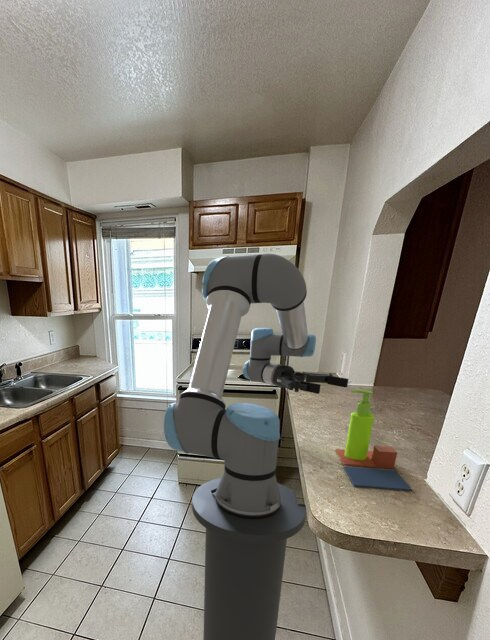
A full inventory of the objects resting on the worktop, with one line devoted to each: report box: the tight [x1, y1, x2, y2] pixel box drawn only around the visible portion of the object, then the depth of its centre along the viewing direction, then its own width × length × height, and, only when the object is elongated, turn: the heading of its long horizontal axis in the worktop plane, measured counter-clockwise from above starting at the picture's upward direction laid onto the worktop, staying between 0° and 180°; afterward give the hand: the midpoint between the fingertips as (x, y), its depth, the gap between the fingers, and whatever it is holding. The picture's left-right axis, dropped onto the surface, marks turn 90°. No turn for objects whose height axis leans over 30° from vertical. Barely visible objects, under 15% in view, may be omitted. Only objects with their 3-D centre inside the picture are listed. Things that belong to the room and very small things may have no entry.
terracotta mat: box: [335, 448, 395, 470], centre depth 105 cm, size 13×11×1 cm
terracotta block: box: [371, 445, 398, 467], centre depth 100 cm, size 4×4×4 cm
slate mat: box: [343, 466, 413, 492], centre depth 93 cm, size 13×11×1 cm
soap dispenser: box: [344, 388, 375, 460], centre depth 103 cm, size 6×7×20 cm
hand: (333, 386), depth 107 cm, fingers open, 13 cm apart
